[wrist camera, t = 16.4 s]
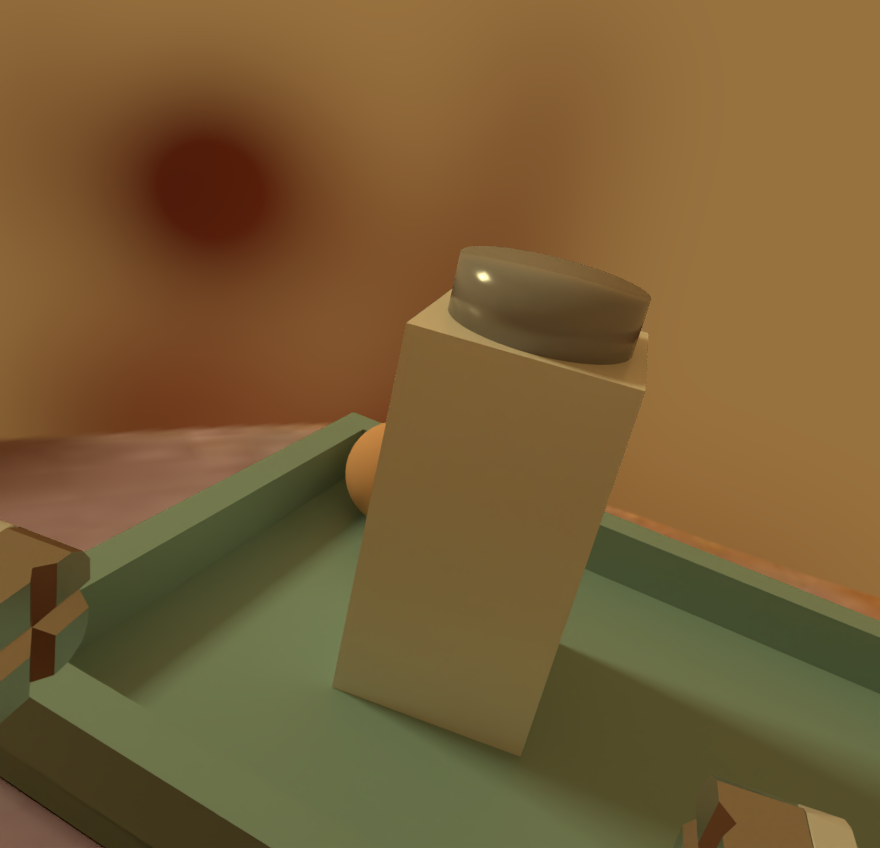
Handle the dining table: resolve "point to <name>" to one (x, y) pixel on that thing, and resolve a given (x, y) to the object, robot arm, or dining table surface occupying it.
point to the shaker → (492, 489)
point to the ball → (364, 466)
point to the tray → (410, 739)
